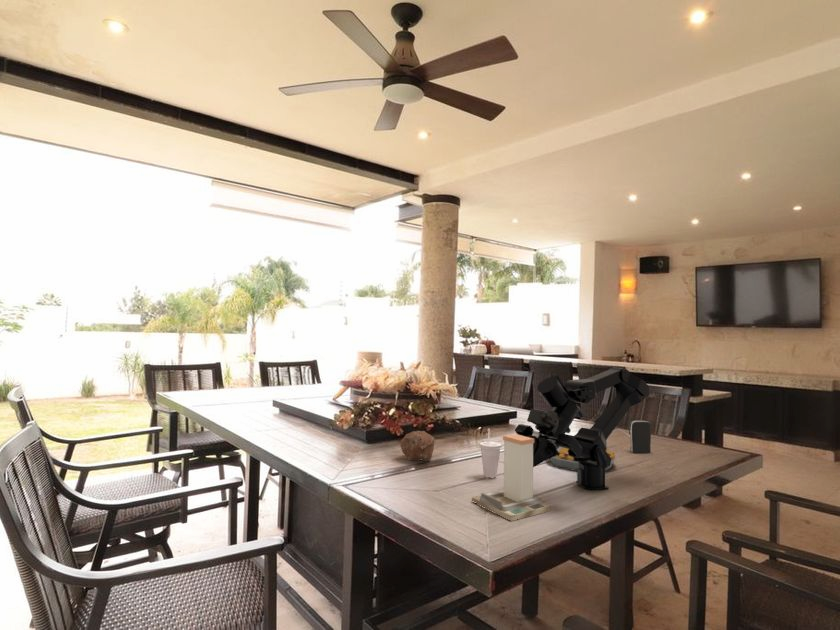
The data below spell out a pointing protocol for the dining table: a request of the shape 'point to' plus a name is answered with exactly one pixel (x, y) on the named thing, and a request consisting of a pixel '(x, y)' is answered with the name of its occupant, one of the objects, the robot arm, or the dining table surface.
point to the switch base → (511, 505)
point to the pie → (569, 462)
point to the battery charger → (640, 436)
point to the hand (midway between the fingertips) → (530, 466)
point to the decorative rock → (418, 445)
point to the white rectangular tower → (518, 467)
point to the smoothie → (490, 457)
